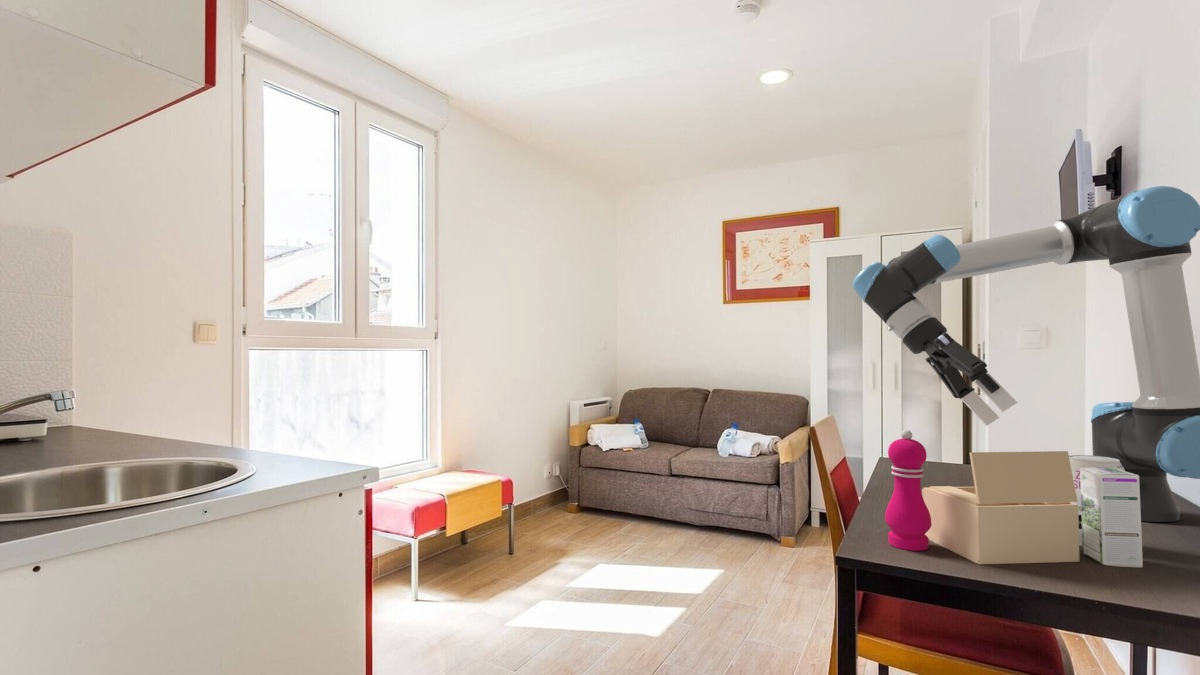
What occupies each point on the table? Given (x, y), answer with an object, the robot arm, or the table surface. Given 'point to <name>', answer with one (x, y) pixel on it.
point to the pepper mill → (907, 496)
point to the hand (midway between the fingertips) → (1001, 415)
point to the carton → (1002, 528)
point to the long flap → (1022, 477)
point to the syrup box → (1111, 516)
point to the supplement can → (1088, 462)
